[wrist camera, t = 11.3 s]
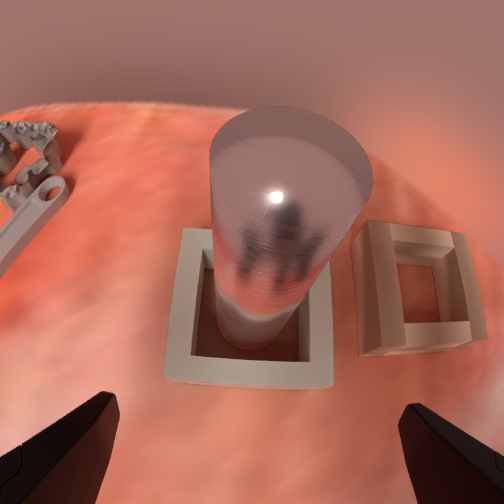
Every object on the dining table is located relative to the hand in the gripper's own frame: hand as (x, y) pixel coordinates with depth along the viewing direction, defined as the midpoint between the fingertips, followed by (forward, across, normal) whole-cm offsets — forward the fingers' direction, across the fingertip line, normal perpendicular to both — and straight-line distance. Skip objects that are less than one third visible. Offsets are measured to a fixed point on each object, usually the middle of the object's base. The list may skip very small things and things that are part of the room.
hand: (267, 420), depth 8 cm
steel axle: (+9, 0, +2) cm, 9 cm away
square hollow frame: (+9, 0, +2) cm, 10 cm away
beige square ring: (+11, -10, 0) cm, 15 cm away
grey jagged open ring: (+17, +22, -5) cm, 28 cm away
